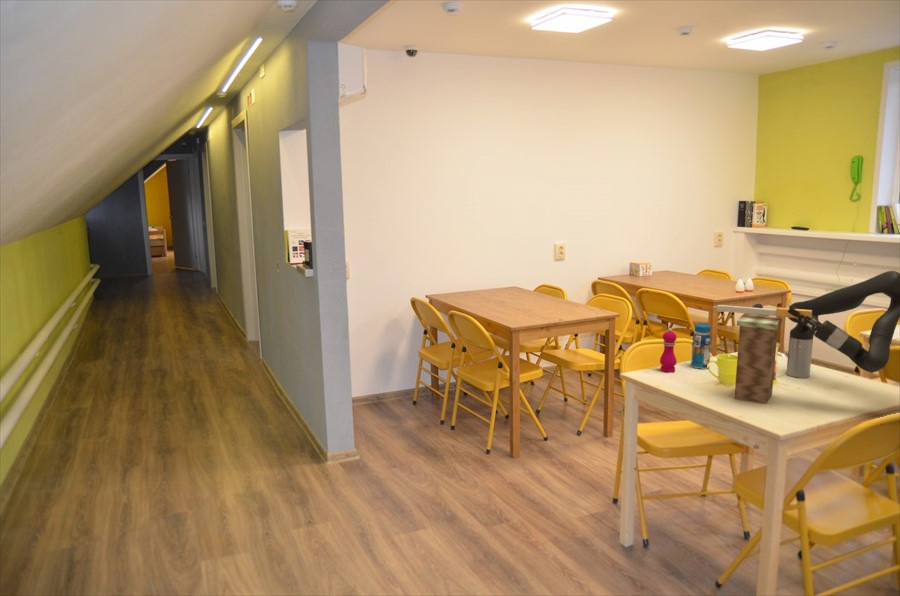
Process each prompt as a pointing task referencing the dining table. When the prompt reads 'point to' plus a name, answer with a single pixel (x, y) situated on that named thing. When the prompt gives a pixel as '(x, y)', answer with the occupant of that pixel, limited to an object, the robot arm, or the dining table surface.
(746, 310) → the knife
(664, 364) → the pepper mill
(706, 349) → the blue snack canister
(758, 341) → the brown zigzag canister
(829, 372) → the dining table surface
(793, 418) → the dining table surface
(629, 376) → the dining table surface
